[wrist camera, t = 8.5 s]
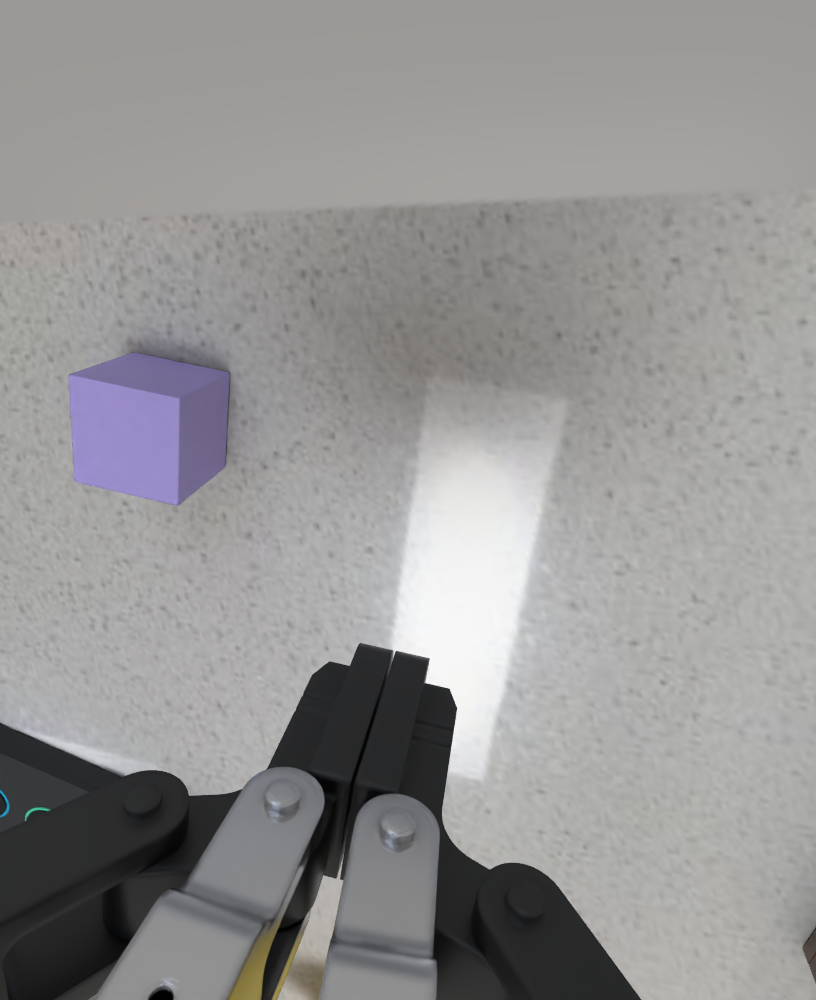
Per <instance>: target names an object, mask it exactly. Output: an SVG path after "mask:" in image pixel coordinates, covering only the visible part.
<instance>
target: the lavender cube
mask: <svg viewBox="0 0 816 1000" xmlns="http://www.w3.org/2000/svg"><path fill="white" fill-rule="evenodd" d="M229 379H230V373H229V372H225V371H220V370H215V369H210V368H206V367H201V366H196V365H191V364H187V363H182V362H177V361H172V360H168V359H163V358H158V357H153V356H149V355H144V354H139V353H134V352H133V353H130V354H127V355H124V356H121V357H119V358H116V359H113V360H110V361H107V362H104V363H101V364H98V365H95V366H92V367H89V368H87V369H84V370H81V371H78V372H75V373H72V374H69V392H70V410H71V428H72V446H73V464H74V481H75V482H78V483H82V484H86V485H90V486H95V487H99V488H103V489H108V490H112V491H116V492H121V493H125V494H129V495H134V496H138V497H142V498H146V499H151V500H155V501H159V502H164V503H168V504H172V505H177V506H178V505H179V504H181V503H182V502H183V501H184V500H186V499H187V498H188V497H189V496H190V495H192V494H193V493H194V492H195V491H197V490H198V489H199V488H200V487H201V486H203V485H204V484H205V483H206V482H208V481H209V480H210V479H211V478H213V477H214V476H215V475H216V474H217V473H219V472H220V471H221V470H222V469H224V468H225V461H226V440H227V420H228V399H229Z"/></svg>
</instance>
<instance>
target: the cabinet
mask: <svg viewBox="0 0 816 1000" xmlns="http://www.w3.org/2000/svg"><path fill="white" fill-rule="evenodd" d="M803 951H804V953H805V956H806V959H807V962H808V964H809V966H810V969H811V972H812V975H813V977H814V980H815V983H816V929H815V931H814V932H813V934H812V935H811V937H810V938H809V940H808V941H807V943H806V944H805V946H804V947H803Z"/></svg>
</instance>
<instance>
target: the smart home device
mask: <svg viewBox="0 0 816 1000" xmlns="http://www.w3.org/2000/svg"><path fill="white" fill-rule="evenodd" d="M120 778H121V777H119V776H117V775H115V774H112V773H110V772H108V771H105V770H103V769H101V768H99V767H96V766H94V765H92V764H89V763H87V762H85V761H83V760H80V759H78V758H76V757H73V756H71V755H69V754H67V753H64V752H62V751H60V750H57V749H55V748H53V747H51V746H48V745H46V744H44V743H42V742H39V741H37V740H35V739H32V738H30V737H28V736H26V735H23V734H21V733H19V732H16V731H14V730H12V729H10V728H7V727H5V726H3V725H0V832H2V831H4V830H7V829H9V828H11V827H13V826H15V825H18V824H20V823H22V822H24V821H27V820H29V819H31V818H33V817H36V816H38V815H40V814H42V813H44V812H47V811H49V810H51V809H53V808H56V807H58V806H60V805H62V804H65V803H67V802H69V801H71V800H73V799H76V798H78V797H80V796H82V795H85V794H87V793H89V792H91V791H94V790H96V789H98V788H100V787H102V786H105V785H107V784H109V783H111V782H114V781H116V780H118V779H120Z"/></svg>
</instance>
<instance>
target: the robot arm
mask: <svg viewBox="0 0 816 1000" xmlns="http://www.w3.org/2000/svg"><path fill="white" fill-rule="evenodd" d="M429 659H430V658H425V657H421V656H416V655H412V654H408V653H403V652H399V651H396V652H395V655H394V658H393V650H389V649H385V648H380V647H376V646H371V645H367V644H363V643H360V644H359V645H358V647H357V650H356V652H355V655H354V657H353V660H352V662H351V665H350V666H347V665H343V664H338V663H334V662H330V661H329V662H328V663H327V664H326V665H324V666H323V667H322V668H321V669H319V670H318V671H317V672H315V673H314V674H313V675H312V677H311V679H310V681H309V683H308V685H307V687H306V689H305V691H304V694H303V697H301V699H300V702H299V704H298V706H297V708H296V712H294V714H293V716H292V718H291V720H290V722H289V724H288V727H287V729H286V731H285V733H284V735H283V737H282V739H281V741H280V743H279V745H278V747H277V749H276V752H275V754H274V756H273V758H272V760H271V762H270V764H269V766H268V768H267V769H266V770H265V771H262V772H260V773H258V774H257V775H255V776H254V777H252V778H251V779H250V780H249V781H248V782H247V784H246V785H245V786H244V788H243V789H241V790H238V791H236V792H232V793H228V794H220V795H200V796H189V795H188V790H187V788H186V786H185V785H184V783H183V782H182V781H181V780H180V779H179V778H177V777H176V776H174V775H172V774H170V773H167V772H163V771H157V770H148V771H140V772H136V773H133V774H130V775H127V776H125V777H122V778H120V779H118V780H116V781H114V782H111V783H109V784H107V785H105V786H102V787H100V788H98V789H96V790H94V791H91V792H89V793H87V794H85V795H82V796H80V797H78V798H76V799H73V800H71V801H69V802H67V803H65V804H62V805H60V806H58V807H56V808H53V809H51V810H49V811H47V812H44V813H42V814H40V815H38V816H36V817H33V818H31V819H29V820H27V821H24V822H22V823H20V824H18V825H15V826H13V827H11V828H9V829H7V830H4V831H2V832H0V1000H88V999H90V998H91V997H92V996H94V995H96V994H97V995H96V996H95V998H94V999H93V1000H277V999H278V996H279V994H280V991H281V989H282V986H283V984H284V981H285V979H286V976H287V974H288V971H289V969H290V966H291V964H292V961H293V959H294V956H295V954H296V951H297V949H298V946H299V944H300V941H301V939H302V936H303V934H304V931H305V929H306V926H307V924H308V921H309V918H310V913H311V908H312V906H313V904H314V902H315V899H316V896H317V893H318V890H319V887H320V884H321V880H322V877H323V875H325V876H328V877H332V878H337V875H338V871H339V868H340V865H341V861H342V858H343V864H342V871H341V877H340V879H341V880H344V881H343V886H342V891H341V896H340V901H339V906H338V911H337V916H336V921H335V926H334V931H333V936H332V939H331V941H330V945H329V950H328V955H327V959H326V964H325V969H324V974H323V979H322V984H321V989H320V994H319V999H318V1000H641V999H640V997H639V996H638V995H637V993H636V992H635V991H634V989H633V988H632V987H631V985H630V984H629V982H628V981H627V980H626V978H625V977H624V976H623V974H622V973H621V972H620V970H619V969H618V967H617V966H616V965H615V963H614V962H613V961H612V959H611V958H610V957H609V955H608V954H607V953H606V951H605V950H604V948H603V947H602V946H601V944H600V943H599V942H598V940H597V939H596V938H595V936H594V935H593V933H592V932H591V931H590V929H589V928H588V927H587V925H586V924H585V923H584V921H583V920H582V919H581V917H580V916H579V914H578V913H577V912H576V910H575V909H574V908H573V906H572V905H571V904H570V902H569V901H568V899H567V898H566V897H565V895H564V894H563V893H562V891H561V890H560V889H559V887H558V886H557V885H556V884H555V883H554V882H553V881H552V880H551V879H550V878H549V877H548V876H547V875H545V874H544V873H542V872H541V871H539V870H537V869H535V868H534V867H531V866H528V865H525V864H520V863H505V864H501V865H498V866H496V867H494V868H492V869H491V870H489V869H487V868H486V867H484V866H482V865H481V864H479V863H477V862H476V861H474V860H472V859H471V858H469V857H468V856H466V855H465V854H464V853H462V852H461V851H460V850H459V849H458V848H457V847H456V846H455V845H454V843H453V842H452V841H451V839H450V838H449V836H448V835H447V833H446V830H445V828H444V825H443V821H442V805H443V799H444V792H445V785H446V779H447V772H448V765H449V758H450V752H451V745H452V738H453V731H454V725H455V718H456V712H457V707H456V704H455V702H454V699H453V697H452V694H451V691H450V689H448V688H444V687H439V686H435V685H431V684H426V683H425V681H426V675H427V670H428V665H429ZM392 660H393V661H392ZM343 854H344V857H343Z"/></svg>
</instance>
